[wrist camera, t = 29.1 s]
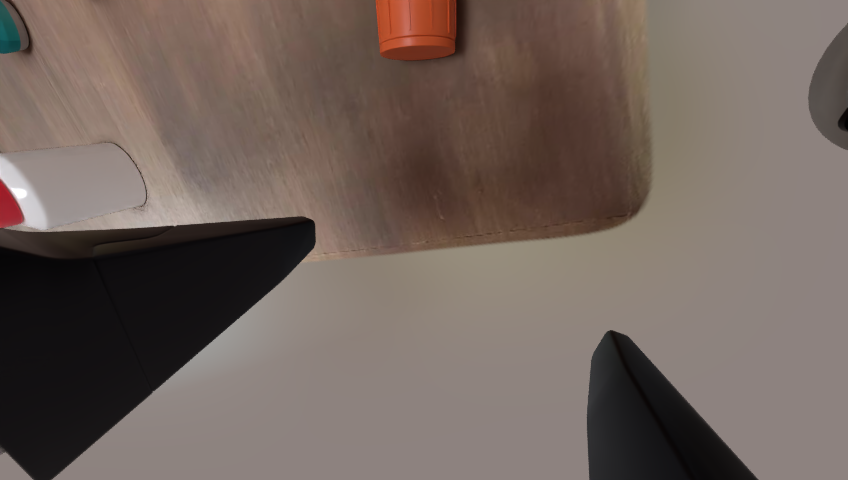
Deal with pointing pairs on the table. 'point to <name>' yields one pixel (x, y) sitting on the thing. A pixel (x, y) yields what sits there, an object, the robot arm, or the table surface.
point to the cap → (416, 28)
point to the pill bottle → (67, 185)
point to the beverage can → (11, 30)
